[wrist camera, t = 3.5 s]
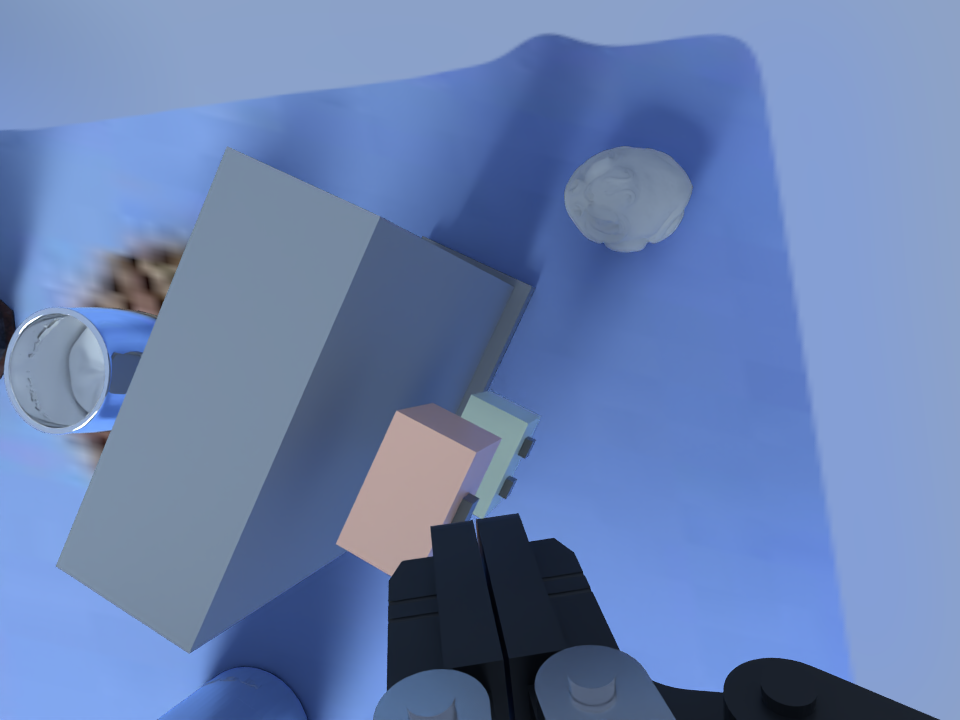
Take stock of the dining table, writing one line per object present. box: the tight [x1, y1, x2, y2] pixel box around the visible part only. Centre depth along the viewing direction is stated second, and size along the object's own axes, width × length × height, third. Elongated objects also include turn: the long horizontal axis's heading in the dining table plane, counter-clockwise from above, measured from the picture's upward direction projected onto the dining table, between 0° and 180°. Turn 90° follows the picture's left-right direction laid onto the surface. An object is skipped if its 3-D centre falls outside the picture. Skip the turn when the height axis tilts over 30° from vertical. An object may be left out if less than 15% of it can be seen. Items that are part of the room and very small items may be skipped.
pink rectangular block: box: [336, 403, 502, 576], centre depth 25 cm, size 3×5×4 cm
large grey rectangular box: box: [56, 147, 535, 654], centre depth 35 cm, size 8×17×24 cm, turn 155°
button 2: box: [461, 391, 541, 519], centre depth 35 cm, size 3×5×4 cm
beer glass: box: [4, 307, 158, 435], centre depth 43 cm, size 7×7×15 cm
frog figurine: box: [564, 146, 693, 253], centre depth 40 cm, size 6×7×7 cm
